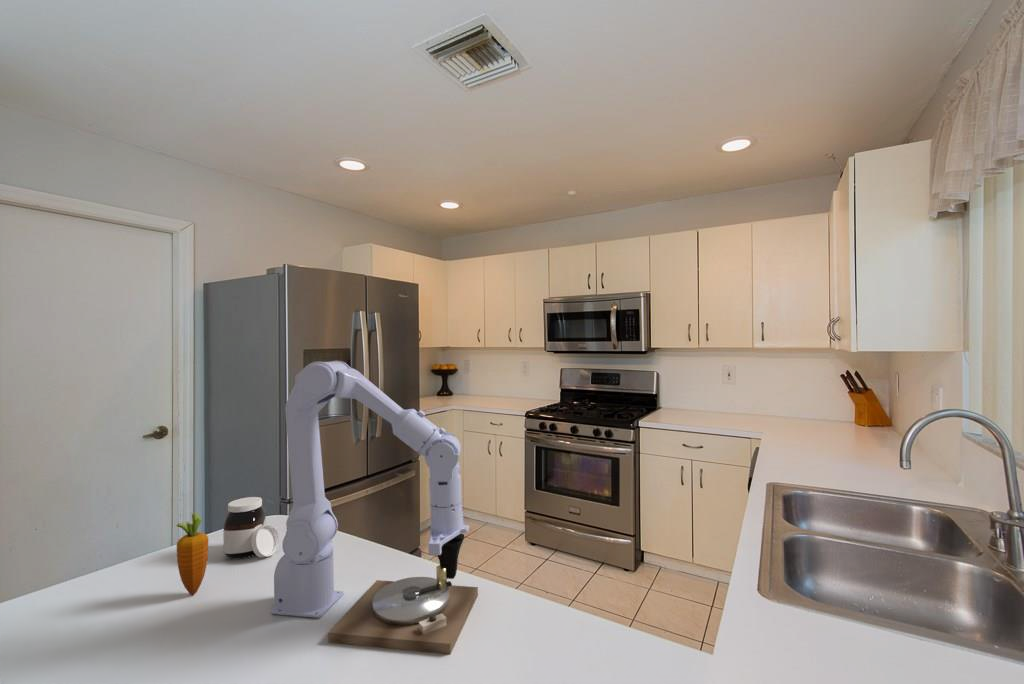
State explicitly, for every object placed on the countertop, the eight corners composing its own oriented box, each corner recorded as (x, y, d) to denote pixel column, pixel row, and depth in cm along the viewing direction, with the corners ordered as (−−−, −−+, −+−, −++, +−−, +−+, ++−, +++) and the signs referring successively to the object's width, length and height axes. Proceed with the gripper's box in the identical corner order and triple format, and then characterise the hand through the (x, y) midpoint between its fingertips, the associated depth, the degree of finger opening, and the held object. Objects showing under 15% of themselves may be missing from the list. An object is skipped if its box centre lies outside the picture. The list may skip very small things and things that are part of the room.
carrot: (192, 603, 84) (191, 521, 84) (170, 600, 85) (169, 519, 85) (215, 589, 89) (214, 511, 89) (193, 587, 90) (193, 510, 90)
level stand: (328, 642, 72) (327, 620, 72) (376, 588, 88) (376, 570, 88) (450, 654, 68) (450, 631, 68) (477, 595, 84) (477, 576, 85)
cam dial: (382, 633, 71) (381, 603, 71) (366, 595, 82) (365, 568, 82) (464, 608, 77) (464, 580, 77) (439, 575, 88) (438, 551, 89)
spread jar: (234, 545, 110) (234, 496, 110) (286, 539, 112) (285, 492, 112) (215, 568, 98) (214, 513, 98) (273, 561, 101) (272, 508, 101)
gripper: (455, 517, 75) (459, 600, 75) (476, 489, 90) (479, 559, 90) (415, 516, 77) (418, 598, 76) (442, 489, 91) (445, 558, 91)
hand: (449, 577), depth 83 cm, fingers closed, pressing on cam dial
